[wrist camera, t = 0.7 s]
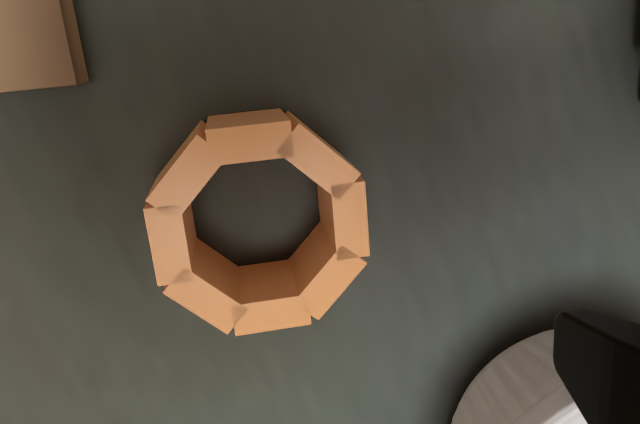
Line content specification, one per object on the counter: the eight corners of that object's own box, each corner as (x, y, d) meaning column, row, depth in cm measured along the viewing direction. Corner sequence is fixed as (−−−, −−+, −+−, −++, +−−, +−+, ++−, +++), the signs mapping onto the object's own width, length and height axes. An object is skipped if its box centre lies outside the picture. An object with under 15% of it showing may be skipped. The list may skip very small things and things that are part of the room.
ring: (339, 101, 18) (360, 112, 16) (352, 276, 20) (373, 314, 18) (144, 122, 18) (129, 138, 15) (177, 302, 20) (169, 346, 17)
